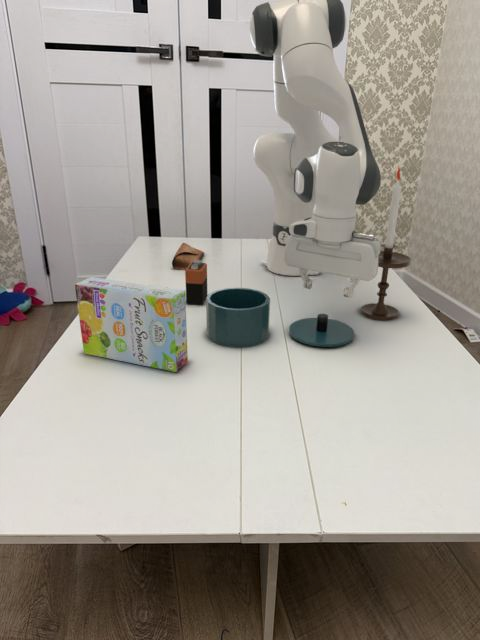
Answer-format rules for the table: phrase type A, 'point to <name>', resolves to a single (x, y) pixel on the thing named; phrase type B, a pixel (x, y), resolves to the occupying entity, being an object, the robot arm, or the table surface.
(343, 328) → the lid
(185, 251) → the sunglasses case
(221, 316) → the pot
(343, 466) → the table surface
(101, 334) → the snack box
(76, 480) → the table surface
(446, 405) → the table surface
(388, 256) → the candlestick
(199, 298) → the battery
